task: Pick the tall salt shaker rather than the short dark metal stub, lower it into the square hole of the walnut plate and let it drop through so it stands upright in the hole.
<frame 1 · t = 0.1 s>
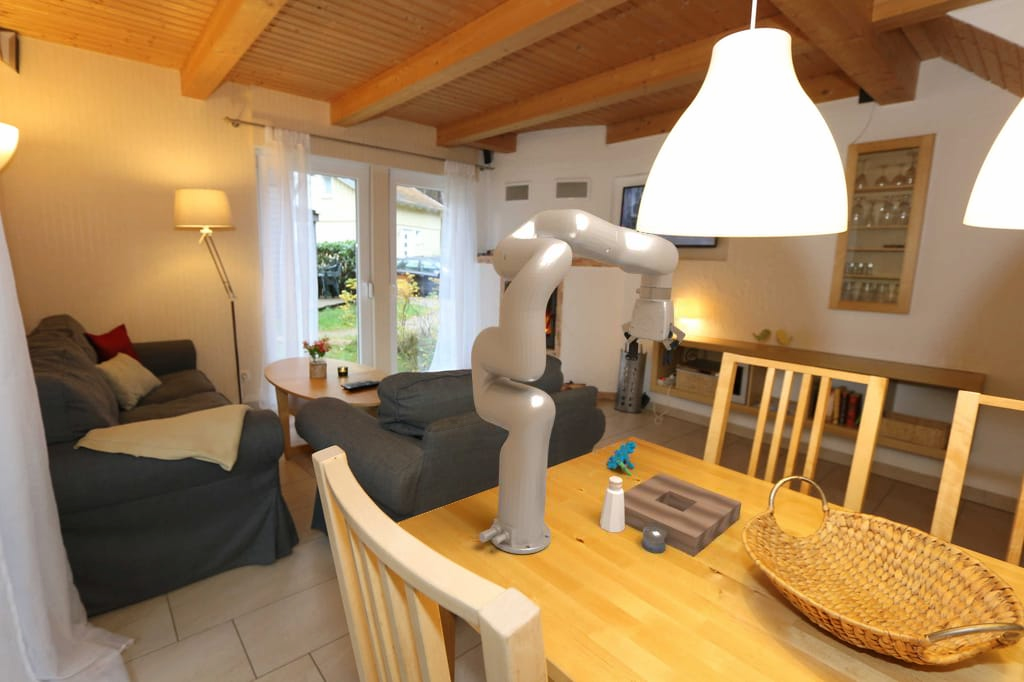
hand: (649, 361, 128), 31 cm above the table, tool pointing down, fingers open, 9 cm apart
short stub: (653, 547, 101), on the table
salt shaker: (612, 527, 108), on the table
blue bumpy figure: (620, 469, 137), on the table
socket plate: (674, 517, 112), on the table
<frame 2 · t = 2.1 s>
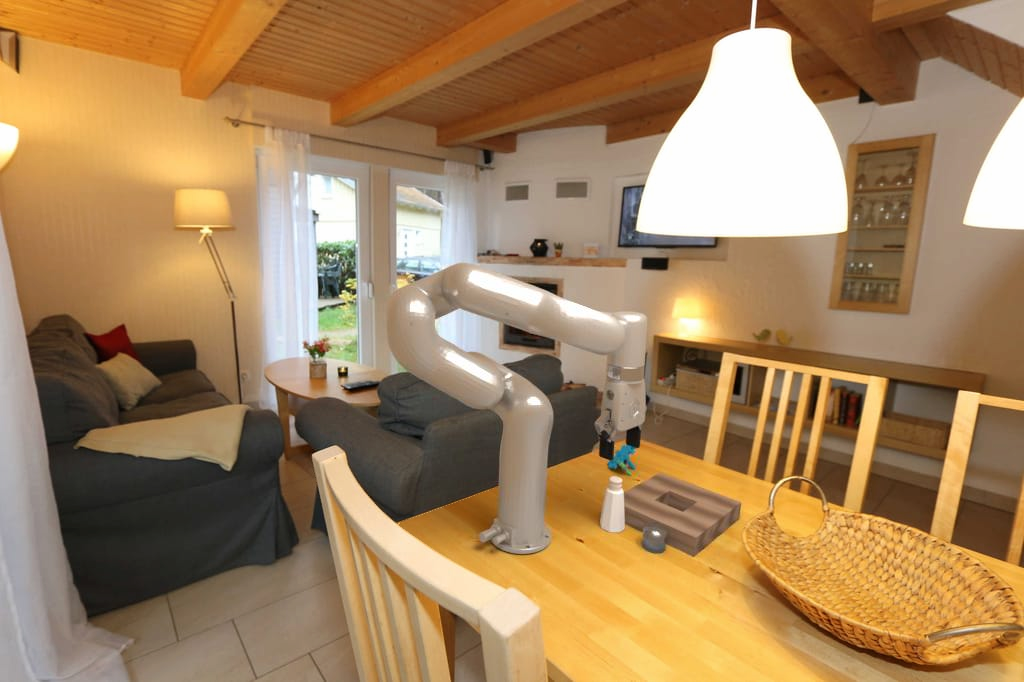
hand: (619, 452, 105), 17 cm above the table, tool pointing down, fingers open, 9 cm apart
nothing on the table moved.
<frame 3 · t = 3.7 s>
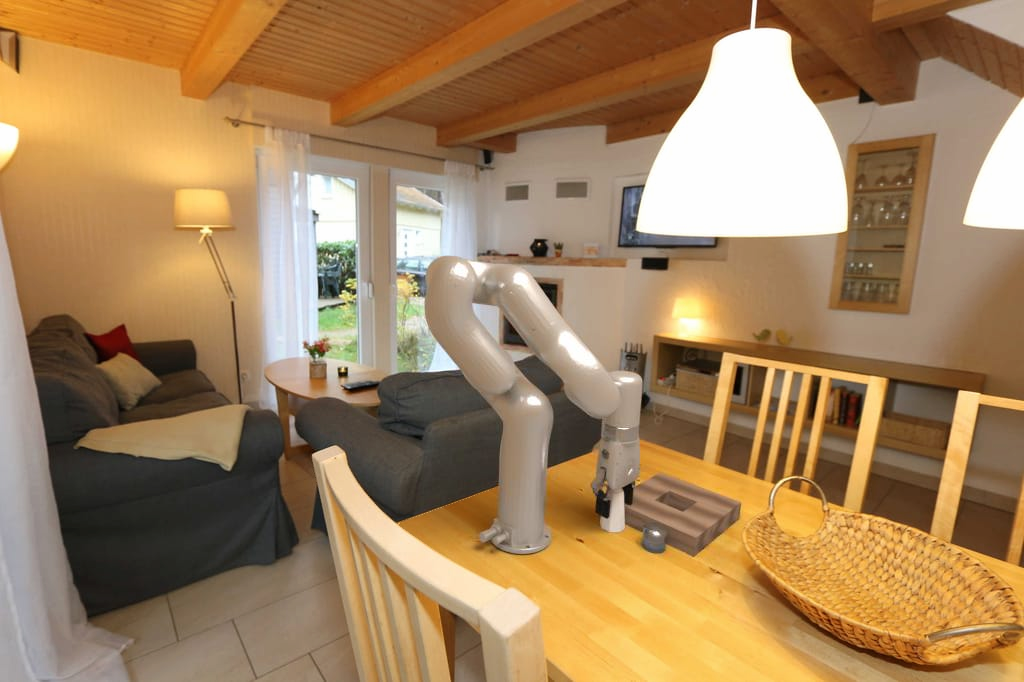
hand: (614, 508, 107), 4 cm above the table, tool pointing down, fingers open, 8 cm apart
nothing on the table moved.
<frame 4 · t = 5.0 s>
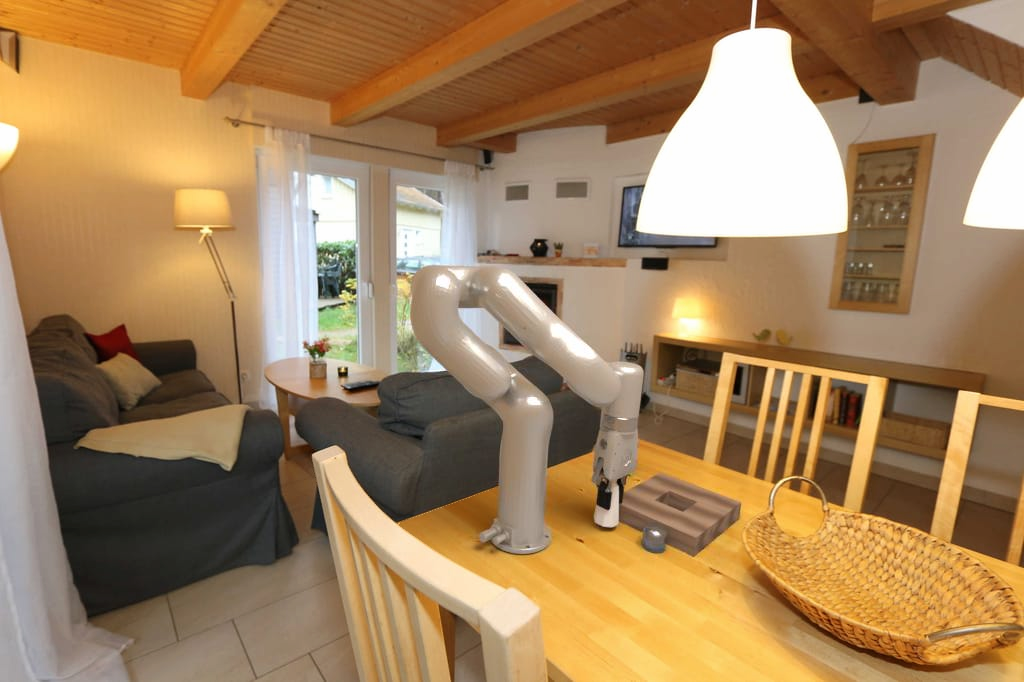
hand: (609, 503, 106), 5 cm above the table, tool pointing down, fingers closed on salt shaker, 3 cm apart
salt shaker: (605, 522, 107), point 1 cm above the table, touching gripper
everything else where it was.
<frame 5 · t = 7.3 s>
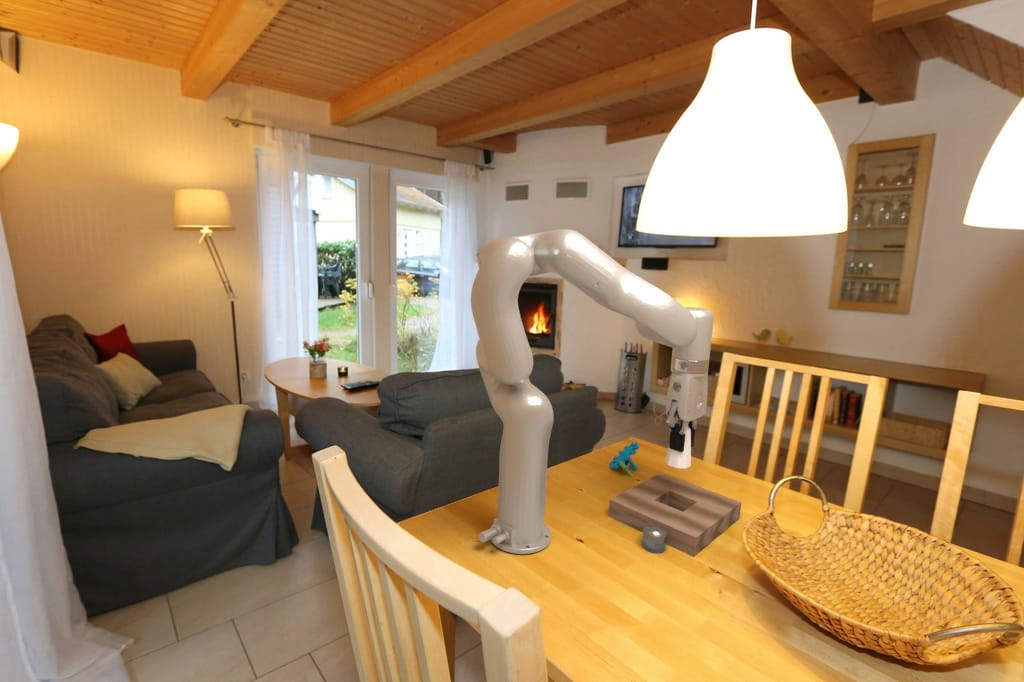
hand: (681, 446, 109), 17 cm above the table, tool pointing down, fingers closed on salt shaker, 3 cm apart
salt shaker: (677, 464, 110), point 12 cm above the table, touching gripper
everything else where it was.
when the fingers open (6 cm above the table, at t = 9.8 s): salt shaker drops 2 cm, resting in socket plate.
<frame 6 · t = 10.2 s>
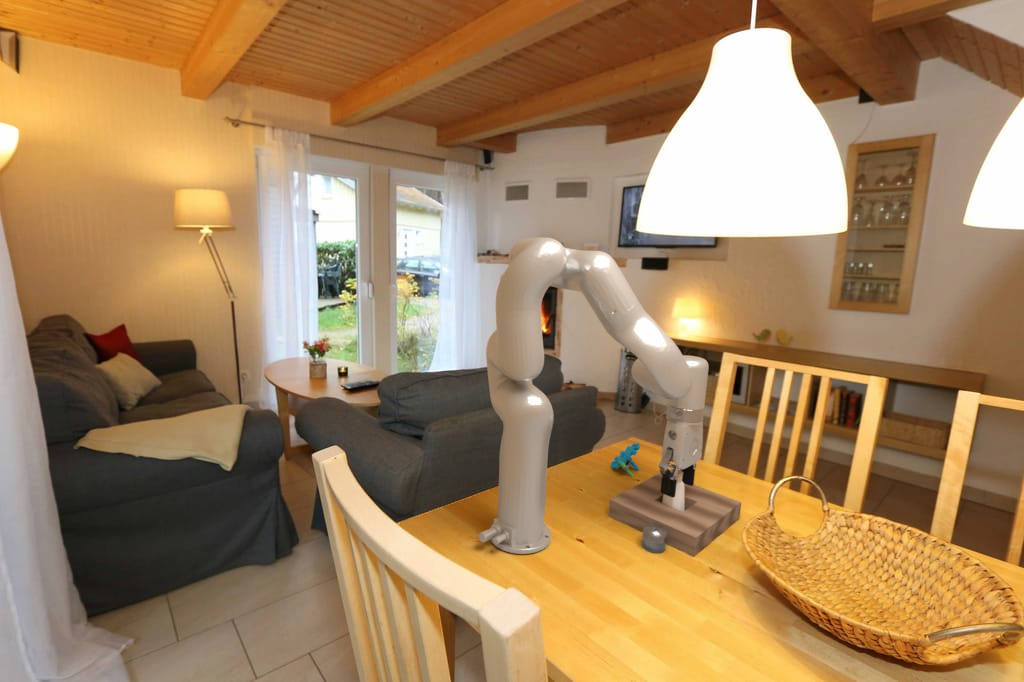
hand: (677, 488, 111), 7 cm above the table, tool pointing down, fingers open, 7 cm apart
salt shaker: (671, 517, 113), resting in socket plate
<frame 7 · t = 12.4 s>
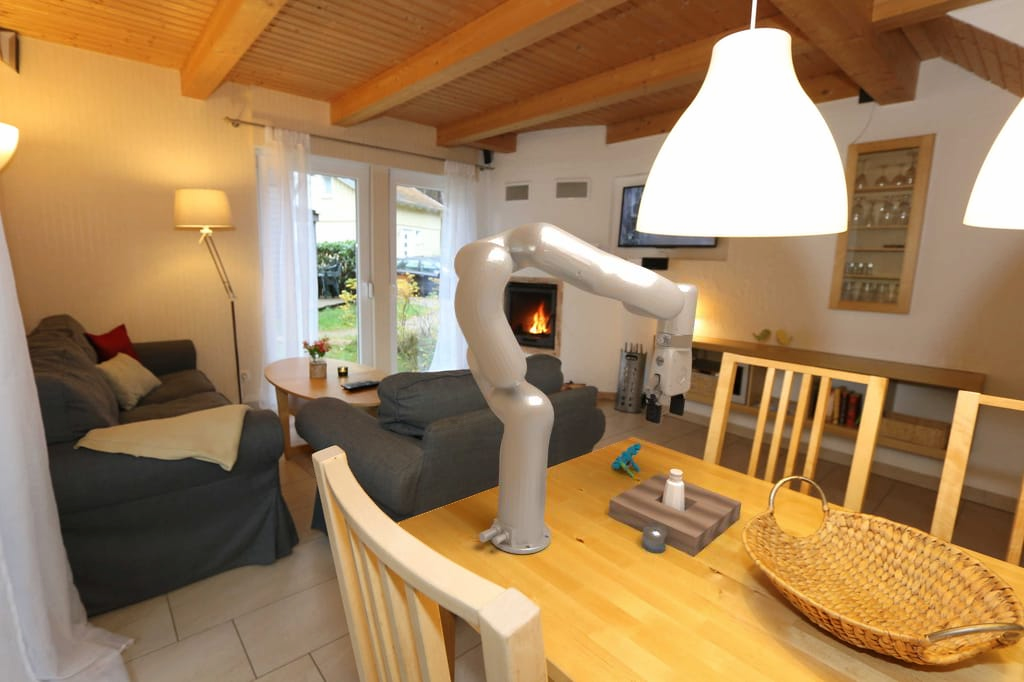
hand: (664, 417, 110), 23 cm above the table, tool pointing down, fingers open, 9 cm apart
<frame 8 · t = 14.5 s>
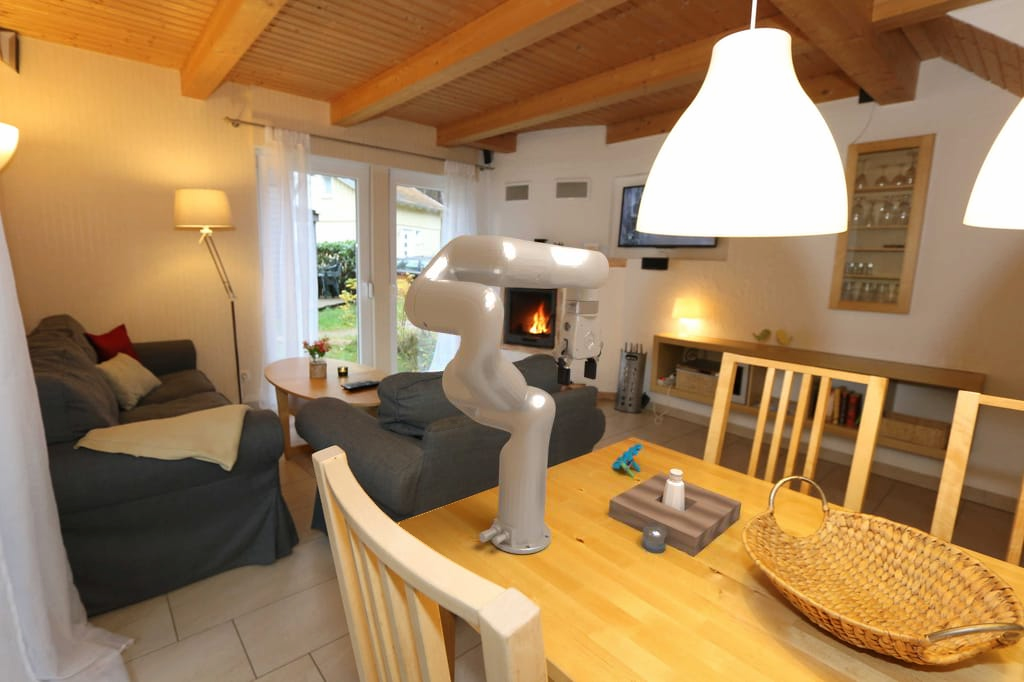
hand: (576, 381, 116), 28 cm above the table, tool pointing down, fingers open, 9 cm apart
at the end: salt shaker 0.5 cm off-centre on the socket plate, point 0.0 cm above the socket plate's base; salt shaker tilted 0°; short stub moved 0.1 cm from its start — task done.
